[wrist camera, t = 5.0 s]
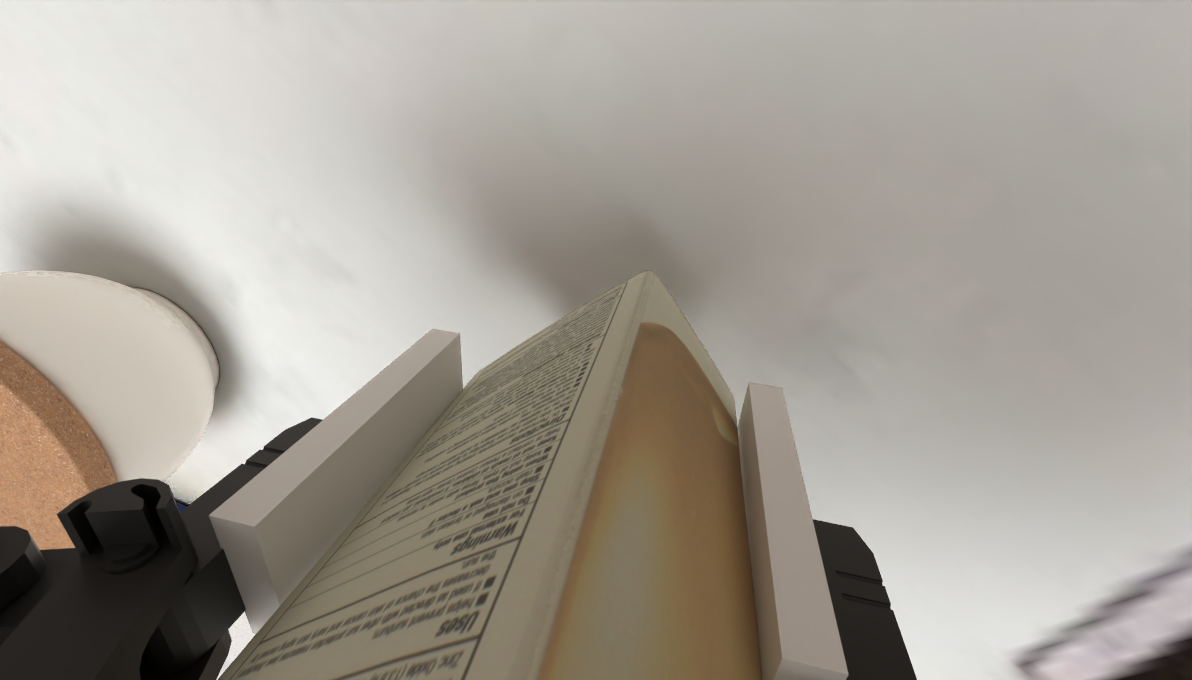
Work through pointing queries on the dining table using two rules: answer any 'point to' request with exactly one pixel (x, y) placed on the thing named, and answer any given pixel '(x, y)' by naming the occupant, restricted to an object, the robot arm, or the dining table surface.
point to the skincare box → (547, 524)
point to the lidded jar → (92, 392)
